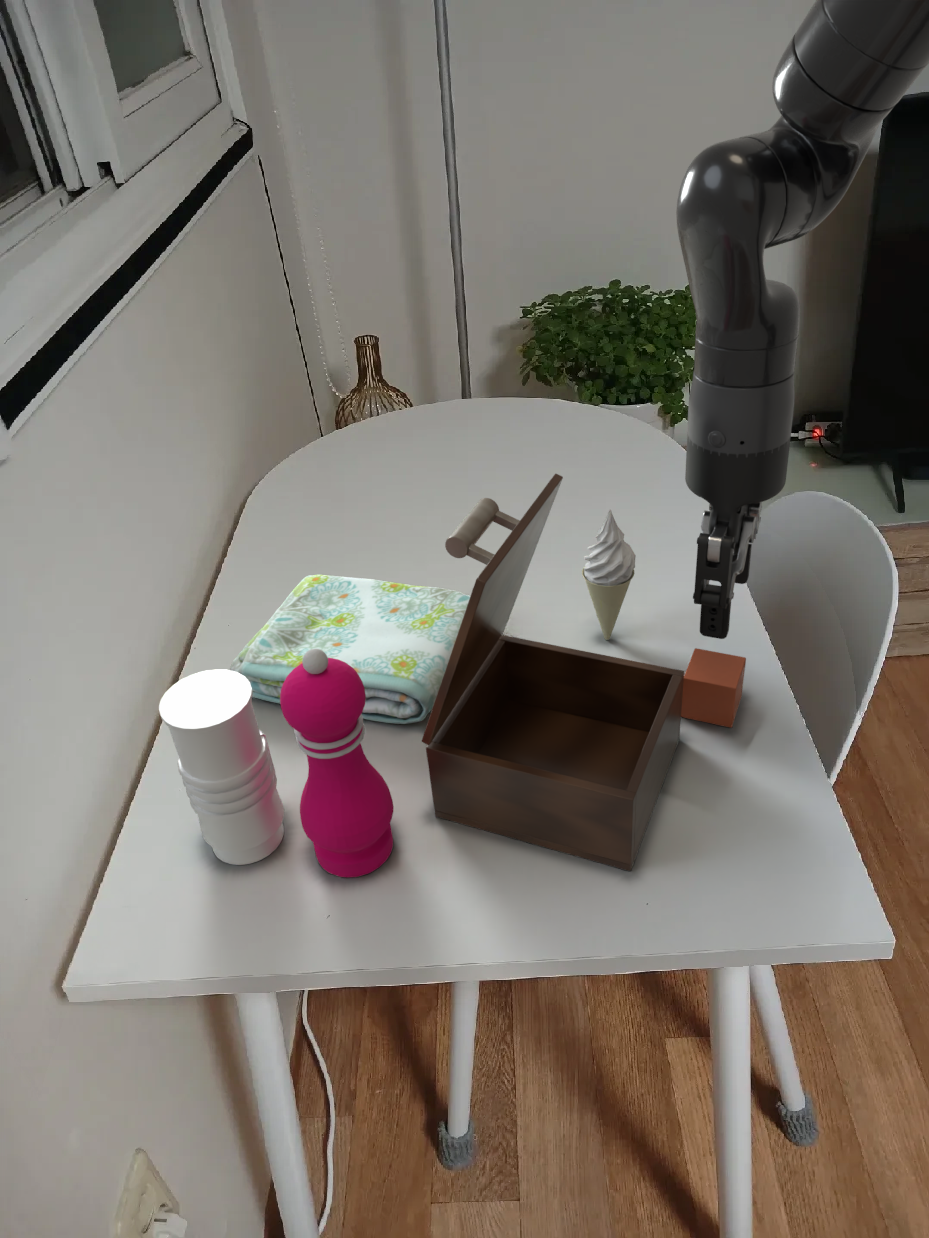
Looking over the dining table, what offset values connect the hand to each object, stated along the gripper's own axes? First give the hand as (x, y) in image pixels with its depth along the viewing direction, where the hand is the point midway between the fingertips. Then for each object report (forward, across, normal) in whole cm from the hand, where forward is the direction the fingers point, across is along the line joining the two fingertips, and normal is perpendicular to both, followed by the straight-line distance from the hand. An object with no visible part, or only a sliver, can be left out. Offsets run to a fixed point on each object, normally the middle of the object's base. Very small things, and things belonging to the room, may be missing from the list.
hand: (724, 606), depth 81 cm
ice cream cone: (+11, +7, +12) cm, 18 cm away
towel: (+11, -4, +34) cm, 36 cm away
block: (+11, 0, 0) cm, 11 cm away
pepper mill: (+11, -26, +23) cm, 37 cm away
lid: (-5, -13, +15) cm, 21 cm away
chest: (+11, -13, +10) cm, 20 cm away
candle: (+11, -28, +32) cm, 44 cm away
